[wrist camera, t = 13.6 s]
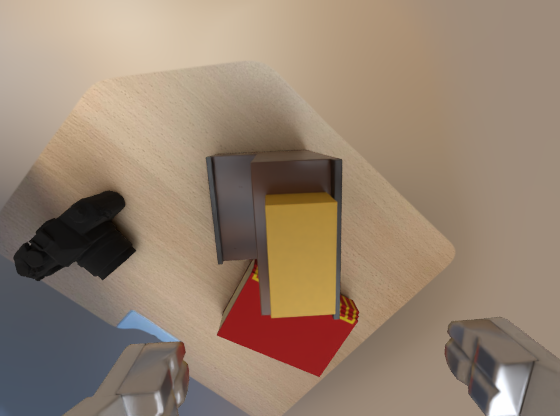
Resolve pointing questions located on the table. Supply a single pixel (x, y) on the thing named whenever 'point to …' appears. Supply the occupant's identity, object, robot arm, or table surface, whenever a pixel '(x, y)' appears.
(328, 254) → the yellow box
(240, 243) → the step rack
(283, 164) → the top shelf
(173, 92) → the table surface
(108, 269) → the film camera
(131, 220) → the table surface
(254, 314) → the book
